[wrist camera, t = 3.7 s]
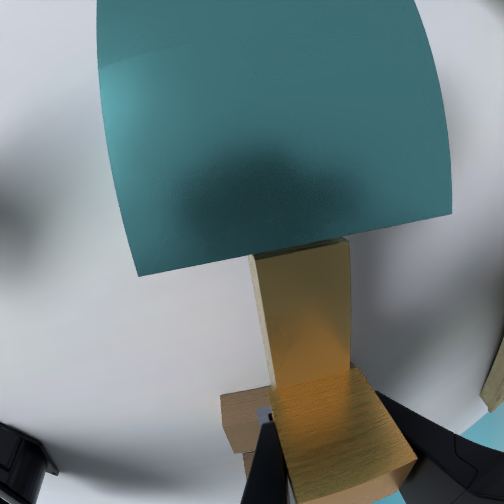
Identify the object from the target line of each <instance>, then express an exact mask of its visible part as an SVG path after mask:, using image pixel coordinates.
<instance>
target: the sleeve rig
mask: <svg viewBox="0 0 504 504" xmlns="http://www.w3.org/2000/svg"><path fill="white" fill-rule="evenodd" d="M97 58H98V73H99V85H100V96H101V105H102V113H103V121H104V128H105V135H106V141H107V147H108V153H109V159H110V164H111V170H112V175H113V180H114V185H115V189H116V194H117V198H118V203H119V207H120V211H121V215H122V220H123V224H124V227H125V231H126V235H127V239H128V243H129V246H130V250H131V253H132V257H133V260H134V264H135V267H136V270H137V273H138V277H140V276H145V275H150V274H156V273H161V272H166V271H171V270H176V269H181V268H186V267H191V266H196V265H201V264H206V263H211V262H216V261H221V260H226V259H231V258H236V257H241V256H246V255H251V254H256V253H261V252H266V251H271V250H276V249H281V248H286V247H291V246H296V245H301V244H306V243H311V242H316V241H321V240H326V239H331V238H336V237H341V236H346V235H351V234H356V233H360V232H365V231H370V230H375V229H380V228H385V227H390V226H395V225H400V224H405V223H410V222H415V221H420V220H425V219H429V218H434V217H439V216H444V215H449V214H452V181H451V163H450V151H449V141H448V132H447V124H446V118H445V111H444V105H443V100H442V94H441V89H440V84H439V80H438V75H437V71H436V67H435V63H434V59H433V55H432V52H431V48H430V45H429V42H428V38H427V35H426V32H425V29H424V26H423V23H422V20H421V17H420V15H419V12H418V9H417V7H416V4H415V2H414V0H97ZM352 368H355V367H354V365H353V364H350V369H352ZM268 391H272V386H267V387H263V388H258V389H253V390H248V391H243V392H238V393H232V394H226V395H220V400H221V413H222V425H223V428H224V431H225V433H226V436H227V438H228V440H229V442H230V445H231V447H232V449H233V451H234V454H235V453H241V452H247V451H253V450H255V448H256V444H257V440H258V436H259V432H260V428H261V425H262V423H264V422H269V421H273V416H272V412H271V407H270V402H269V397H268ZM253 456H254V452H250V453H244V454H243V460H244V466H245V473H246V479H247V478H248V475H249V471H250V467H251V464H252V460H253ZM288 484H289V480H288ZM289 494H290V504H295V502H294V499H293V495H292V491H291V488H290V484H289Z"/></svg>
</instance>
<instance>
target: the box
mask: <svg viewBox="0 0 504 504" xmlns="http://www.w3.org/2000/svg"><path fill="white" fill-rule="evenodd" d="M480 397H481V398H482V399H483V401H484V402H485V404H486V405H487V406H488V411H489V412H490V413H491V412H492V411H494V410H495V409H496V408H497V407H498V406H499V405H500V404H501V403H502V402H503V401H504V337H503V341H502V343H501V346H500V349H499V351H498V354H497V356H496V359H495V361H494V364H493V366H492V369H491V371H490V373H489V376H488V378H487V380H486V382H485V384H484V387H483V389H482V391H481V393H480Z"/></svg>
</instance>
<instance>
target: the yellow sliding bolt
mask: <svg viewBox="0 0 504 504" xmlns="http://www.w3.org/2000/svg"><path fill="white" fill-rule="evenodd" d="M248 260H249V265H250V271H251V276H252V282H253V288H254V293H255V299H256V304H257V310H258V315H259V321H260V326H261V332H262V337H263V342H264V348H265V353H266V359H267V364H268V370H269V375H270V380H271V386H272V391H268V397H269V402H270V407H271V412H272V416H273V421H274V422H275V425H276V429H277V433H278V436H279V440H280V443H281V447H282V451H283V455H284V460H285V465H286V471H287V476H288V480H289V484H290V488H291V491H292V495H293V499H294V502H295V504H370V503H373V502H375V501H378V500H380V499H382V498H385V497H387V496H389V495H391V494H393V493H395V492H397V491H398V490H399V488H400V487H401V485H402V484H403V482H404V481H405V479H406V477H407V476H408V474H409V472H410V471H411V469H412V467H413V466H414V464H415V462H416V461H417V459H418V458H417V456H416V455H415V453H414V452H413V450H412V448H411V447H410V445H409V444H408V442H407V441H406V439H405V437H404V436H403V434H402V433H401V431H400V430H399V428H398V427H397V425H396V423H395V422H394V420H393V419H392V417H391V416H390V414H389V413H388V411H387V410H386V408H385V407H384V405H383V404H382V402H381V401H380V399H379V398H378V396H377V395H376V393H375V391H374V390H373V388H372V387H371V385H370V384H369V382H368V381H367V379H366V378H365V376H364V375H363V373H362V372H361V371H360V369H359V368H358V367H355V368H352V369H350V348H351V272H350V249H349V241H348V240H346V239H345V238H343V237H342V236H341V237H336V238H331V239H326V240H321V241H316V242H311V243H306V244H301V245H296V246H291V247H286V248H281V249H276V250H271V251H266V252H261V253H256V254H251V255H248Z"/></svg>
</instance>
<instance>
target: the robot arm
mask: <svg viewBox="0 0 504 504" xmlns="http://www.w3.org/2000/svg"><path fill="white" fill-rule="evenodd" d="M375 393H376V395H377V396H378V398H379V399H380V401H381V402H382V404H383V405H384V407H385V408H386V410H387V411H388V413H389V414H390V416H391V417H392V419H393V420H394V422H395V423H396V425H397V427H398V428H399V430H400V431H401V433H402V434H403V436H404V437H405V439H406V441H407V442H408V444H409V445H410V447H411V448H412V450H413V452H414V453H415V455H416V456H417V458H418V459H417V461H416V462H415V464H414V466H413V467H412V469H411V471H410V472H409V474H408V476H407V477H406V479H405V481H404V482H403V484H402V485H401V487H400V488H399V491H400V493H401V495H402V497H403V499H404V500H405V502H406V504H504V452H501V451H498V450H494V449H491V448H488V447H485V446H482V445H479V444H477V443H474V442H472V441H469V440H468V439H465V438H463V437H461V436H459V435H457V434H454V433H453V432H451V431H449V430H447V429H445V428H443V427H442V426H440V425H438V424H436V423H434V422H432V421H430V420H428V419H426V418H425V417H423V416H421V415H419V414H417V413H415V412H414V411H412V410H410V409H408V408H406V407H405V406H403V405H401V404H399V403H397V402H396V401H394V400H392V399H390V398H389V397H387V396H385V395H383V394H382V393H380V392H378V391H375ZM45 472H48V473H50V474H53V475H55V476H58V474H59V472H58V470H57V469H56V467H55V466H54V464H53V463H52V461H51V459H50V458H49V456H48V455H47V453H46V451H45V449H44V448H43V446H42V444H41V443H40V442H38V441H36V440H34V439H32V438H29V437H27V436H25V435H22V434H20V433H18V432H16V431H14V430H12V429H10V428H8V427H6V426H4V425H2V424H0V504H9V503H11V504H36V502H37V498H38V495H39V491H40V488H41V485H42V482H43V479H44V475H45ZM1 497H2V498H3V499H5V500H6V501H8V502H9V503H8V502H6V501H5V500H3V499H2V498H1ZM240 504H290V494H289V484H288V476H287V471H286V465H285V460H284V455H283V451H282V447H281V443H280V440H279V436H278V433H277V429H276V425H275V422H274V421H269V422H264V423H262V425H261V428H260V432H259V436H258V440H257V444H256V448H255V452H254V456H253V460H252V464H251V467H250V471H249V475H248V478H247V482H246V486H245V489H244V493H243V496H242V500H241V503H240Z"/></svg>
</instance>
